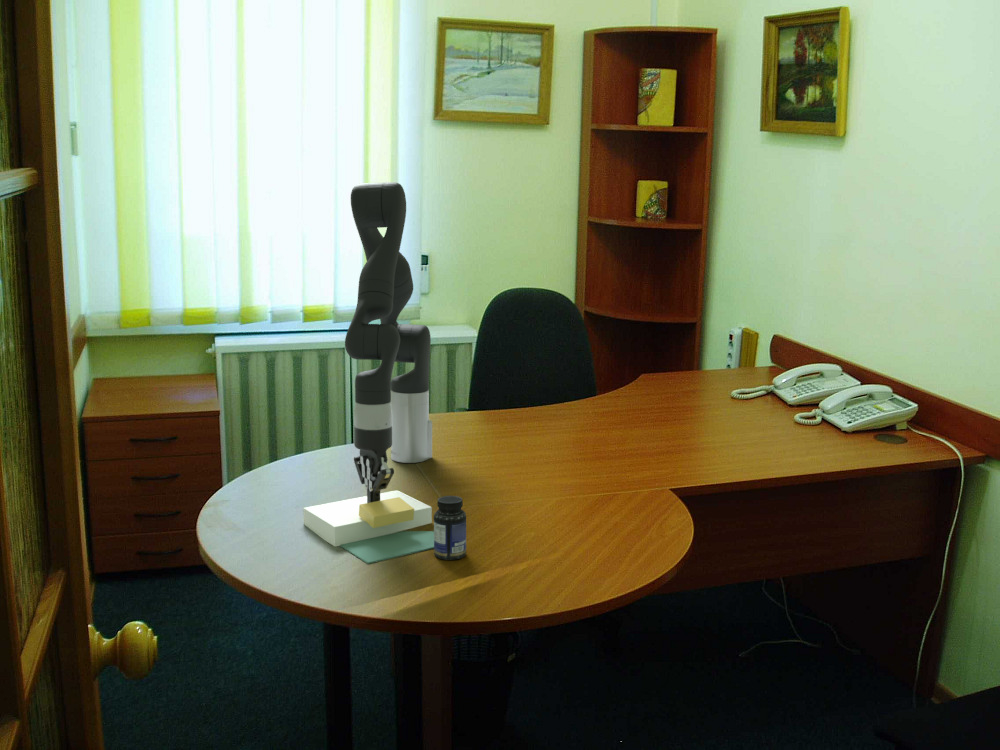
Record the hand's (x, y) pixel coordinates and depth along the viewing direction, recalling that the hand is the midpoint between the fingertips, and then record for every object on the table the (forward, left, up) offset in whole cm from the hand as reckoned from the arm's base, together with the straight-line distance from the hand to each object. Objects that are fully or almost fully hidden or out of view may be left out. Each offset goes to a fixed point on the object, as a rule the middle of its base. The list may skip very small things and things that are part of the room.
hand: (373, 507), depth 193 cm
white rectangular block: (0, -3, -5) cm, 6 cm away
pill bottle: (-5, +20, -5) cm, 21 cm away
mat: (0, +10, -5) cm, 11 cm away
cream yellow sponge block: (0, +5, -1) cm, 5 cm away
